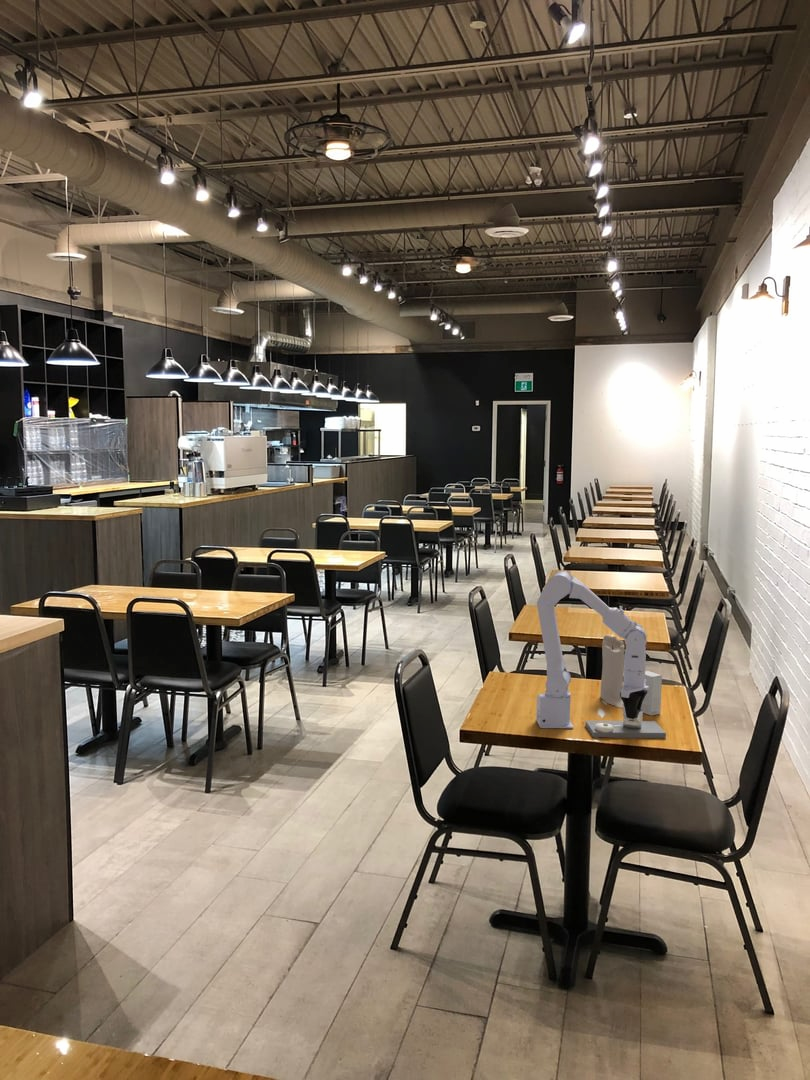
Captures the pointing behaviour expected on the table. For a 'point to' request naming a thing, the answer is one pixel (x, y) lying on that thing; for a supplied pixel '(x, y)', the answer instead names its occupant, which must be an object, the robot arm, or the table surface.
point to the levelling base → (624, 730)
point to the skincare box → (652, 694)
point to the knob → (630, 722)
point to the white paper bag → (612, 670)
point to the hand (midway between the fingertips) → (632, 716)
